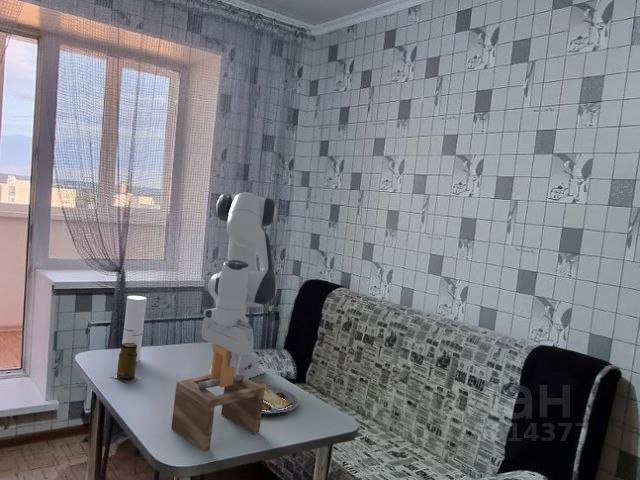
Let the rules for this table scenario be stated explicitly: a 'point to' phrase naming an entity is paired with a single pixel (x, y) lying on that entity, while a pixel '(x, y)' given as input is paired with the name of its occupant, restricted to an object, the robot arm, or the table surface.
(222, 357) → the orange forked block
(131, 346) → the condiment
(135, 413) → the table surface
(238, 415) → the wooden slider frame
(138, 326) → the cylindrical container
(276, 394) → the food plate
